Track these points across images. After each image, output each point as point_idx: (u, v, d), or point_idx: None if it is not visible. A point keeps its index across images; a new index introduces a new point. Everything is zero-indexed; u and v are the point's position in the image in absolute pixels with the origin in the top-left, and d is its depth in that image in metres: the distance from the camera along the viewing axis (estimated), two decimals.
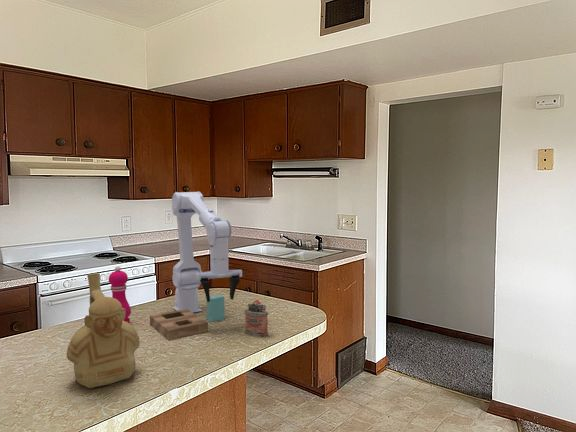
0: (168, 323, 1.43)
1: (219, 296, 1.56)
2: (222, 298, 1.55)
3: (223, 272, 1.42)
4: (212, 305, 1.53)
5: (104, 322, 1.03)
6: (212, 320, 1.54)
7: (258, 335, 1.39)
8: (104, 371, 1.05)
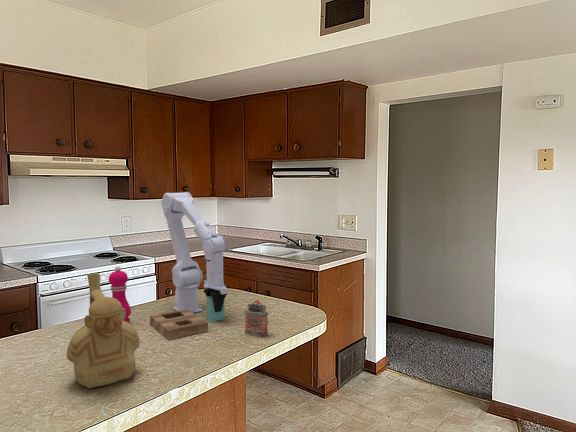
0: (168, 323, 1.43)
1: None
2: None
3: (208, 284, 1.53)
4: (212, 305, 1.53)
5: (104, 322, 1.03)
6: (212, 320, 1.54)
7: (258, 335, 1.39)
8: (104, 371, 1.05)
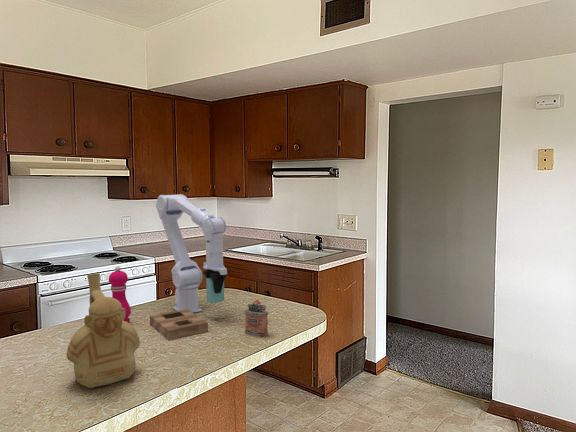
0: (168, 323, 1.43)
1: None
2: None
3: (208, 265, 1.53)
4: (211, 287, 1.53)
5: (104, 322, 1.03)
6: (212, 302, 1.53)
7: (258, 335, 1.39)
8: (104, 371, 1.05)
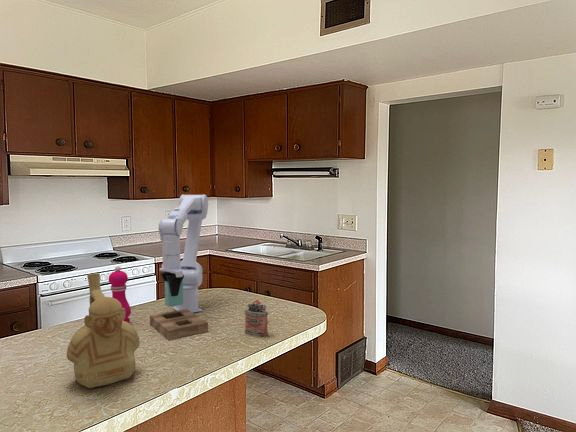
0: (168, 323, 1.43)
1: None
2: None
3: (164, 267, 1.48)
4: (169, 290, 1.48)
5: (104, 322, 1.03)
6: (169, 305, 1.49)
7: (258, 335, 1.39)
8: (104, 371, 1.05)
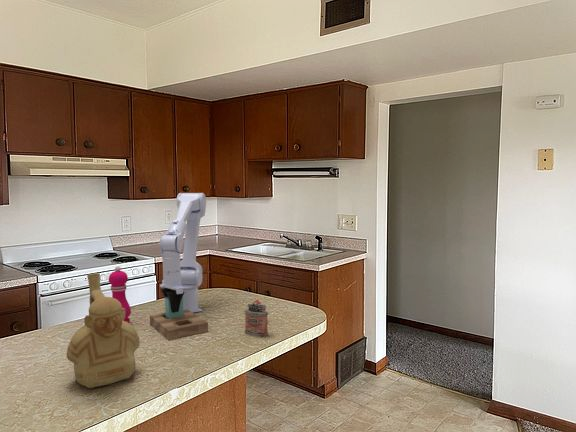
0: (168, 323, 1.43)
1: None
2: (181, 299, 1.51)
3: (164, 284, 1.48)
4: (170, 306, 1.49)
5: (104, 322, 1.03)
6: None
7: (258, 335, 1.39)
8: (104, 371, 1.05)
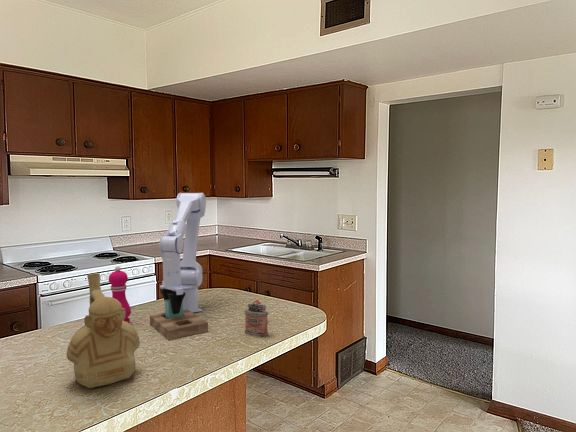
0: (168, 323, 1.43)
1: None
2: None
3: (164, 285, 1.48)
4: (169, 309, 1.49)
5: (104, 322, 1.03)
6: None
7: (258, 335, 1.39)
8: (104, 371, 1.05)
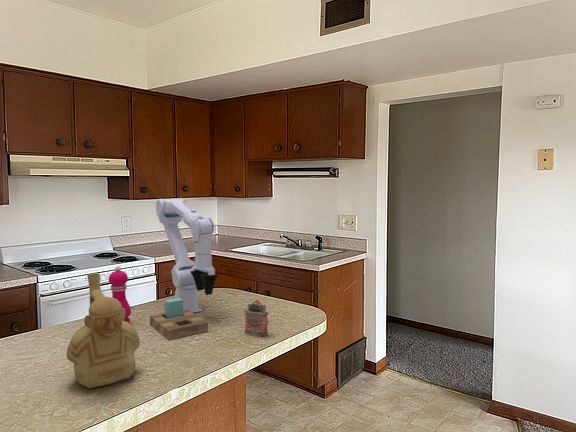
0: (168, 323, 1.43)
1: (178, 299, 1.51)
2: (181, 301, 1.51)
3: (196, 266, 1.53)
4: (169, 309, 1.49)
5: (104, 322, 1.03)
6: None
7: (258, 335, 1.39)
8: (104, 371, 1.05)
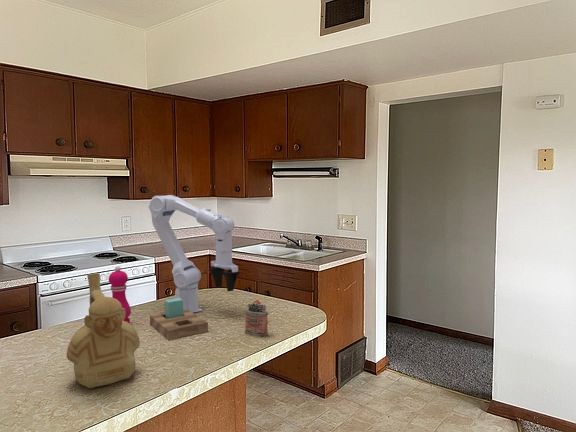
0: (168, 323, 1.43)
1: (178, 299, 1.51)
2: (181, 301, 1.51)
3: (218, 263, 1.58)
4: (169, 309, 1.49)
5: (104, 322, 1.03)
6: None
7: (258, 335, 1.39)
8: (104, 371, 1.05)
